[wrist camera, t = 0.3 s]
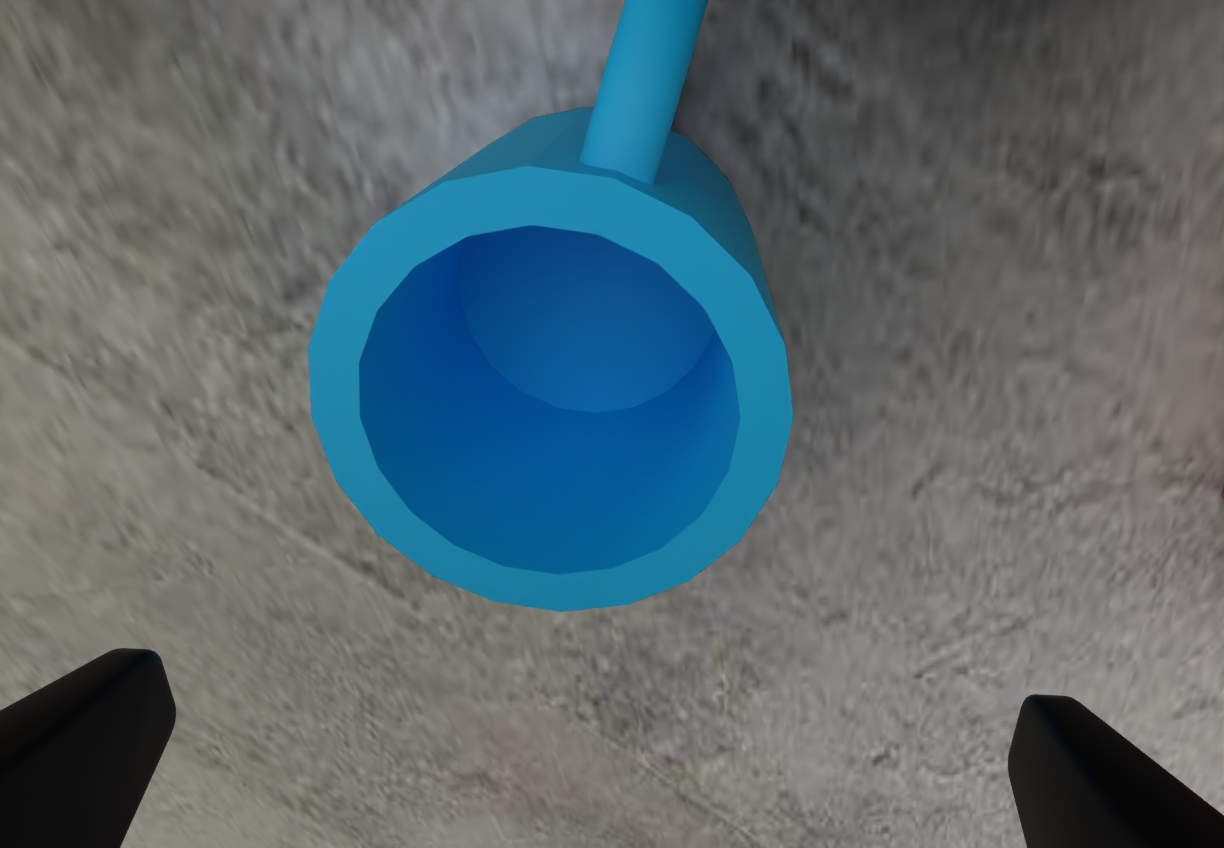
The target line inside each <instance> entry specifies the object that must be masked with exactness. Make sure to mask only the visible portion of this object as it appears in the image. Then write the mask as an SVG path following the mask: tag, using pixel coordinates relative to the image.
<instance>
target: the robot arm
mask: <svg viewBox="0 0 1224 848" xmlns="http://www.w3.org/2000/svg"><path fill="white" fill-rule="evenodd" d="M175 719H176V706H175V702H174V699H173V696H172V692H171V689H170V686H169V683H168V680H167V676H166V673H165V670H164V667H163V663H162V660H161V658H160V656H159V655H158V654H157V653H156V652H155V651H152V650H148V649H130V648H120V649H114V650H111V651H109V652H107V653H105V654H104V655H102V656H100V657H98V658H96V659H94V660H93V661H91V662H89V663H87V664H85V665H83V666H82V667H80V668H78V669H76V670H74V671H72V672H71V673H69V674H67V675H65V676H63V677H61V678H60V679H58V680H56V681H54V682H52V683H50V684H48V685H47V686H45V687H43V688H41V689H39V690H37V691H36V692H34V693H32V694H30V695H28V696H26V697H25V698H23V699H21V700H19V701H17V702H15V703H14V704H12V705H10V706H8V707H6V708H4V709H3V710H1V711H0V848H120V846H121V844H122V842H123V840H124V838H125V835H126V833H127V831H128V829H129V826H130V824H131V822H132V820H133V818H134V815H135V813H136V811H137V809H138V807H139V804H140V802H141V800H142V798H143V795H144V793H145V791H146V789H147V787H148V784H149V782H150V780H151V778H152V776H153V773H154V771H155V769H156V767H157V764H158V762H159V760H160V758H161V756H162V753H163V751H164V749H165V747H166V745H167V742H168V740H169V738H170V736H171V733H172V731H173V728H174V724H175ZM1008 771H1009V778H1010V782H1011V786H1012V790H1013V794H1014V798H1015V802H1016V806H1017V810H1018V814H1019V818H1020V821H1021V825H1022V829H1023V833H1024V837H1025V841H1026V845H1027V848H1224V815H1222V814H1221V813H1220V812H1218V811H1217V810H1216V809H1215V808H1213V807H1212V806H1211V805H1210V804H1208V803H1207V802H1206V801H1204V800H1203V799H1202V798H1201V797H1199V796H1198V795H1197V794H1196V793H1194V792H1193V791H1192V790H1190V789H1189V788H1188V787H1187V786H1185V785H1184V784H1183V783H1182V782H1180V781H1179V780H1178V779H1176V778H1175V777H1174V776H1173V775H1171V774H1170V773H1169V772H1168V771H1166V770H1165V769H1164V768H1162V767H1161V766H1160V765H1159V764H1157V763H1156V762H1155V761H1154V760H1152V759H1151V758H1150V757H1148V756H1147V755H1146V754H1145V753H1143V752H1142V751H1141V750H1140V749H1138V748H1137V747H1136V746H1134V745H1133V744H1132V743H1131V742H1129V741H1128V740H1127V739H1126V738H1124V737H1123V736H1122V735H1120V734H1119V733H1118V732H1117V731H1115V730H1114V729H1113V728H1112V727H1110V726H1109V725H1108V724H1106V723H1105V722H1104V721H1103V720H1101V719H1100V718H1099V717H1097V716H1096V715H1095V714H1094V713H1092V712H1091V711H1090V710H1089V709H1087V708H1086V707H1085V706H1083V705H1082V704H1081V703H1080V702H1078V701H1077V700H1075V699H1073V698H1071V697H1067V696H1056V695H1037V694H1035V695H1030V696H1028V697H1027V698H1026V699H1025V700H1024V702H1023V704H1022V706H1021V710H1020V714H1019V717H1018V721H1017V725H1016V728H1015V732H1014V736H1013V739H1012V743H1011V747H1010V751H1009V755H1008Z"/></svg>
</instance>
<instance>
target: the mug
mask: <svg viewBox="0 0 1224 848" xmlns="http://www.w3.org/2000/svg"><path fill="white" fill-rule="evenodd" d="M707 2H708V0H626V1H625V4H624V7H623V10H622V13H621V17H620V20H619V23H618V26H617V29H616V33H615V36H614V39H613V42H612V46H611V49H610V53H609V56H608V60H607V63H606V67H605V70H604V74H603V77H602V81H601V84H600V88H599V91H598V95H597V98H596V102H595V105H594V108H588V107H586V108H581V109H576V110H571V111H566V112H561V113H556V114H551V115H546V116H541V117H536V118H533V119H531V120H529V121H528V122H526V123H524V124H523V125H521V126H519V127H518V128H516V129H514V130H513V131H511V132H509V133H508V134H506V135H504V136H503V137H501V138H499V139H498V140H496V141H494V142H493V143H491V144H489V145H488V146H486V147H485V148H483V149H482V150H480V151H479V152H478V153H476V154H475V155H473V156H472V157H470V158H469V159H467V160H466V161H464V162H463V163H462V164H460V165H459V166H457V167H456V168H454V169H453V170H451V171H450V172H448V173H447V174H445V175H444V176H443V177H441V178H440V179H438V180H437V181H435V182H434V183H432V184H431V185H429V186H428V187H427V188H425V189H424V190H422V191H421V192H419V193H418V194H416V195H415V196H413V197H412V198H410V199H409V200H408V201H406V202H405V203H403V204H402V205H400V206H399V207H397V208H396V209H394V210H393V211H392V212H390V213H389V214H387V215H386V216H384V217H383V218H381V219H380V220H378V221H377V222H376V223H375V224H374V225H373V226H372V228H371V229H370V230H369V231H368V233H367V234H366V235H365V237H364V238H363V239H362V240H361V242H360V243H359V244H358V245H357V247H356V248H355V249H354V250H353V252H352V253H351V254H350V255H349V257H348V258H347V259H346V260H345V262H344V263H343V264H342V265H341V267H340V268H339V269H338V270H337V272H336V273H335V274H334V275H333V277H332V278H331V279H330V280H329V284H328V287H327V290H326V293H325V296H324V299H323V303H322V306H321V309H320V312H319V315H318V318H317V322H316V325H315V328H314V331H313V334H312V337H311V341H310V344H309V347H308V354H309V377H310V399H311V417H312V420H313V422H314V425H315V428H316V430H317V433H318V435H319V438H320V441H321V443H322V446H323V448H324V451H325V454H326V456H327V459H328V461H329V464H330V467H331V469H332V472H333V474H334V477H335V480H336V481H337V483H338V484H339V485H340V487H341V488H342V489H343V490H344V492H345V493H346V494H347V496H348V497H349V498H350V499H351V501H352V502H353V503H354V505H355V506H356V507H357V509H358V510H359V511H360V512H361V514H362V515H363V516H364V518H365V519H366V520H367V521H368V523H369V524H370V525H371V527H372V528H373V529H374V531H375V532H376V533H377V534H378V535H379V536H380V537H382V538H383V539H384V540H386V541H387V542H388V543H389V544H391V545H392V546H393V547H395V548H396V549H397V550H399V551H400V552H401V553H403V554H404V555H405V556H407V557H408V558H409V559H411V560H412V561H413V562H415V563H416V564H417V565H419V566H420V567H421V568H423V569H424V570H425V571H427V572H428V573H429V574H431V575H432V576H434V577H437V578H439V579H441V580H444V581H446V582H448V583H451V584H453V585H456V586H458V587H460V588H463V589H465V590H468V591H470V592H472V593H475V594H477V595H480V596H482V597H484V598H487V599H489V600H492V601H494V602H499V603H506V604H513V605H519V606H526V607H533V608H539V609H546V610H553V611H560V612H564V611H573V610H583V609H592V608H602V607H612V606H621V605H628V604H631V603H633V602H636V601H639V600H641V599H644V598H646V597H649V596H651V595H654V594H656V593H659V592H662V591H664V590H667V589H669V588H672V587H674V586H677V585H679V584H682V583H685V582H687V581H689V580H691V579H692V578H693V577H694V576H696V575H697V574H698V573H699V572H701V571H702V570H703V569H705V568H706V567H707V566H708V565H710V564H711V563H712V562H713V561H715V560H716V559H717V558H719V557H720V556H721V555H722V554H724V553H725V552H726V551H727V550H729V549H730V548H731V547H733V546H734V545H735V544H736V543H738V542H739V541H740V540H741V539H742V537H743V536H744V534H745V533H746V531H747V530H748V528H749V527H750V525H751V524H752V522H753V521H754V519H755V518H756V516H757V515H758V513H759V512H760V510H761V509H762V507H763V505H764V504H765V502H766V501H767V499H768V498H769V496H770V495H771V493H772V492H773V490H774V489H775V487H776V486H777V483H778V479H779V475H780V471H781V467H782V463H783V459H784V455H785V451H786V447H787V443H788V439H789V435H790V430H791V426H792V422H793V409H792V400H791V391H790V382H789V373H788V364H787V355H786V346H785V343H784V339H783V336H782V332H781V329H780V326H779V322H778V319H777V315H776V312H775V308H774V305H773V302H772V298H771V295H770V291H769V288H768V285H767V281H766V278H765V274H764V271H763V267H762V264H761V261H760V257H759V254H758V250H757V247H756V244H755V240H754V237H753V233H752V230H751V226H750V224H749V222H748V220H747V218H746V216H745V214H744V212H743V210H742V207H741V205H740V203H739V201H738V199H737V197H736V195H735V193H734V191H733V189H732V187H731V185H730V182H729V180H728V178H727V177H726V176H725V175H724V174H723V173H722V172H721V171H720V170H719V169H718V168H717V167H716V166H715V165H714V164H713V163H712V162H711V161H710V160H709V159H708V158H707V157H706V156H705V155H704V154H703V153H702V152H701V151H700V150H699V149H698V148H697V147H696V146H695V145H694V144H693V143H692V142H691V140H689V139H687V138H685V137H683V136H681V135H679V134H677V133H676V132H674V131H672V130H670V129H671V126H672V122H673V119H674V116H675V112H676V109H677V105H678V102H679V99H680V95H681V92H682V89H683V85H684V82H685V78H686V75H687V72H688V68H689V65H690V61H691V58H692V54H693V51H694V47H695V44H696V41H697V37H698V34H699V30H700V27H701V23H702V20H703V16H704V13H705V9H706V6H707Z"/></svg>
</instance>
